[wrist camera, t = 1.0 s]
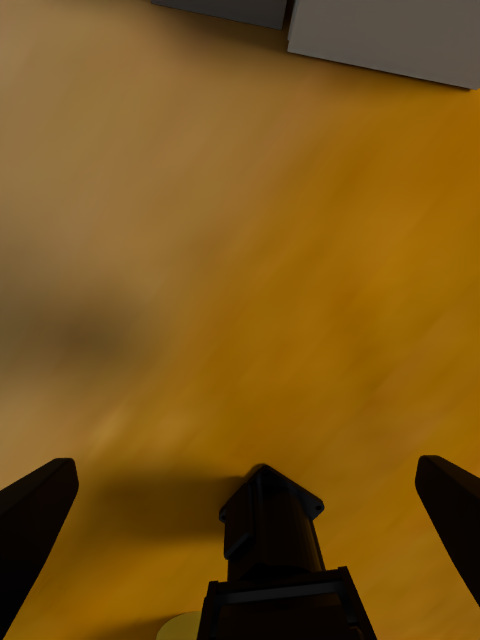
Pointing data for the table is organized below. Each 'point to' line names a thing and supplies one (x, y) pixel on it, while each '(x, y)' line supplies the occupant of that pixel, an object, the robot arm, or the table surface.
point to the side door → (393, 36)
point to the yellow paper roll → (181, 627)
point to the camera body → (235, 10)
